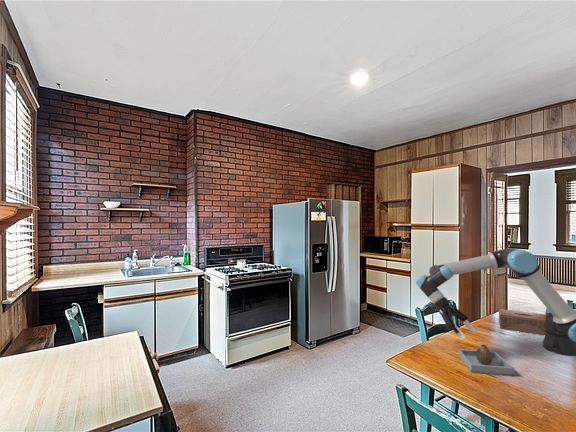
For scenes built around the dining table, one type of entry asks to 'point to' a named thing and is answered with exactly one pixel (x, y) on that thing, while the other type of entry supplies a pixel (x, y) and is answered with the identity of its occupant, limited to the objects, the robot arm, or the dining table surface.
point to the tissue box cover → (522, 321)
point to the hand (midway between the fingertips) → (469, 335)
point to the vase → (484, 355)
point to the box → (495, 367)
